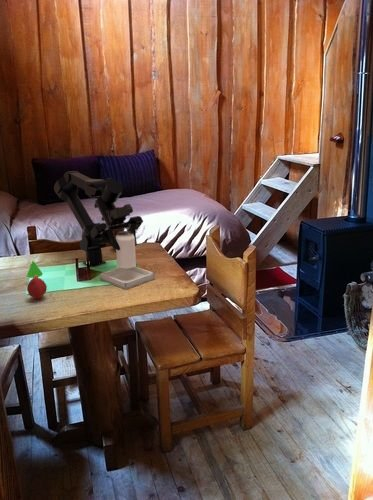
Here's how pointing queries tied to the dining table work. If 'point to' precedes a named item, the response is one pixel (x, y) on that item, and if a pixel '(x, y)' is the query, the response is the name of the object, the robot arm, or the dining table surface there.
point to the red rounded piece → (36, 287)
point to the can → (126, 250)
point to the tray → (127, 277)
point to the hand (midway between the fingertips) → (127, 247)
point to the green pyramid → (34, 271)
